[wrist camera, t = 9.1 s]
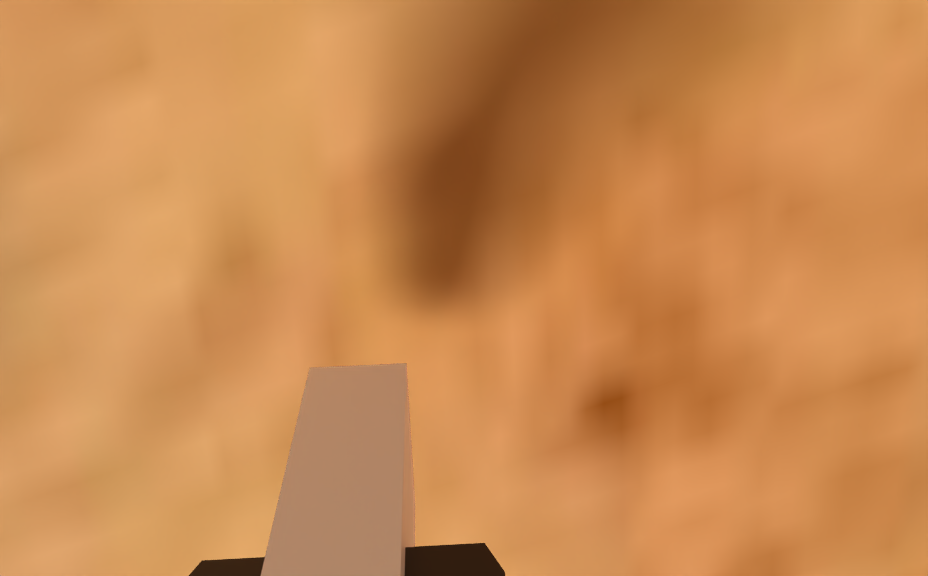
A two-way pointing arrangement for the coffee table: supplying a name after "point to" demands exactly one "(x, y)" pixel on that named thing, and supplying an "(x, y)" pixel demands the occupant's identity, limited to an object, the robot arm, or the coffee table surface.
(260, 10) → the coffee table surface
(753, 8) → the coffee table surface
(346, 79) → the coffee table surface
